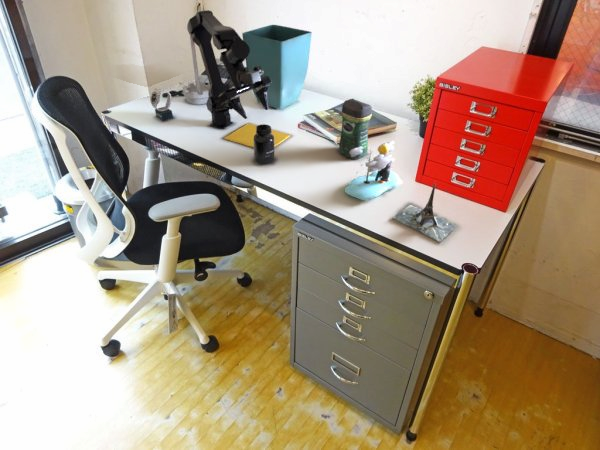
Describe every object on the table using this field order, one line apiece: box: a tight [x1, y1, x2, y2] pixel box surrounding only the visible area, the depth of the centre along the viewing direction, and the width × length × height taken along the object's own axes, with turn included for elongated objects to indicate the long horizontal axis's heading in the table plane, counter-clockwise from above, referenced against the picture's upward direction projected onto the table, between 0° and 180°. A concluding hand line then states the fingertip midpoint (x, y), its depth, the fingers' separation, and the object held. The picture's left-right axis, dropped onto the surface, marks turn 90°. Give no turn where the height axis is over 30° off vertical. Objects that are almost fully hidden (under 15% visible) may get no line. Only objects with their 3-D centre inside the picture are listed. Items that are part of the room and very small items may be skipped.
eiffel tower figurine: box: [392, 181, 458, 243], centre depth 117 cm, size 15×10×13 cm
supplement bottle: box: [253, 123, 276, 166], centre depth 144 cm, size 7×7×12 cm
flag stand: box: [181, 27, 210, 105], centre depth 180 cm, size 13×13×30 cm
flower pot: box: [241, 24, 313, 110], centre depth 180 cm, size 20×20×28 cm
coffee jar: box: [338, 98, 373, 160], centre depth 147 cm, size 10×8×19 cm
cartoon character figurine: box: [344, 140, 403, 201], centre depth 130 cm, size 20×11×15 cm, turn 126°
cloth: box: [224, 122, 291, 149], centre depth 161 cm, size 19×15×1 cm
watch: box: [149, 88, 174, 122], centre depth 170 cm, size 6×8×11 cm
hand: (256, 114), depth 145 cm, fingers open, 9 cm apart
